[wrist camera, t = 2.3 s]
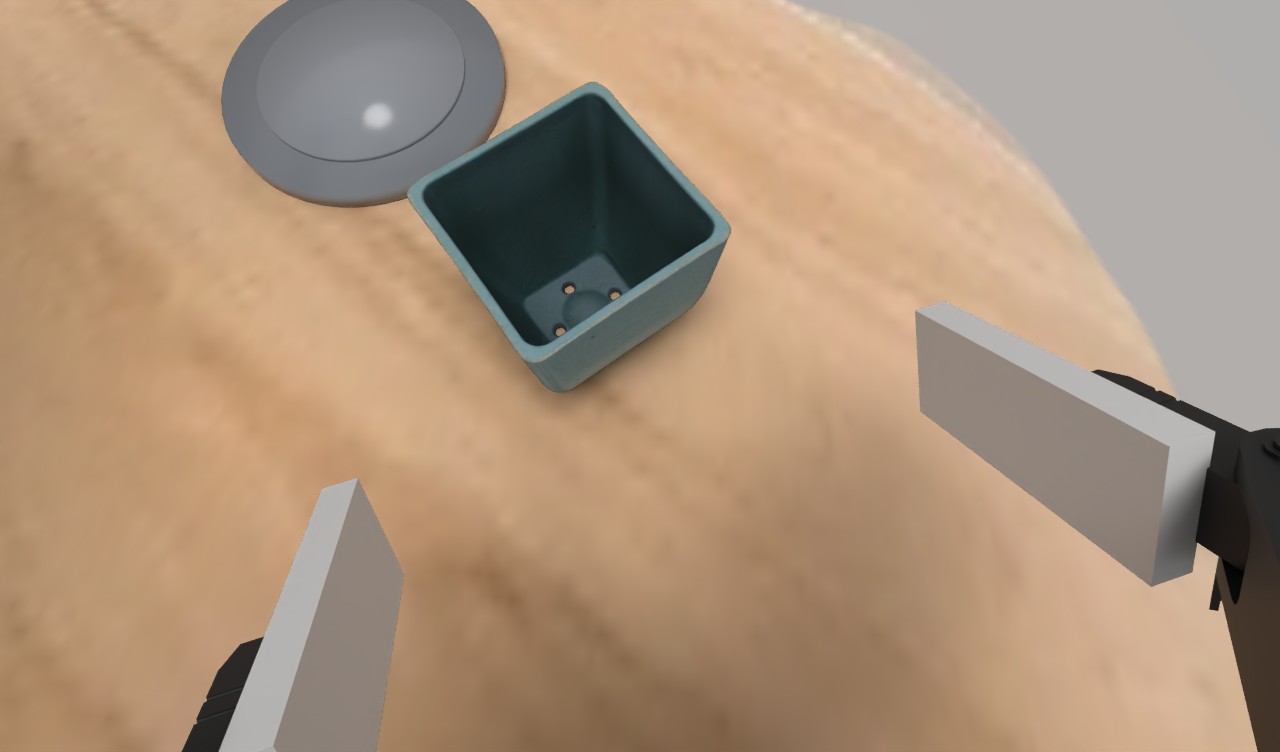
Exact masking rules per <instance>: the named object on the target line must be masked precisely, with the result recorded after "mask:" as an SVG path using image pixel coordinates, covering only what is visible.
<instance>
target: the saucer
mask: <svg viewBox="0 0 1280 752" xmlns="http://www.w3.org/2000/svg"><path fill="white" fill-rule="evenodd" d="M505 89H506V77H505V68H504V64H503V60H502V56H501V52H500V48H499V44H498V41H497V39H496V37H495V34H494V32H493V30H492V28H491V27H490V25H489V24H488V22H487V21H486V19H485V18H484V17H483V16H482V14H481V13H480V12H479V11H478V10H477V9H476V8H475V7H474V6H473V5H471V4H470V3H469V2H468V1H467V0H289V1H287V2H286V3H284V4H282V5H281V6H279V7H278V8H276V9H275V10H274V11H272V12H271V13H270V14H269V15H267V16H266V17H265V18H264V19H262V20H261V21H260V22H259V23H258V24H257V25H256V26H255V27H254V28H253V29H252V30H251V31H250V33H249V34H248V35H247V36H246V38H245V39H244V40H243V42H242V43H241V44H240V46H239V47H238V49H237V51H236V52H235V54H234V56H233V57H232V60H231V62H230V64H229V67H228V69H227V71H226V75H225V79H224V83H223V87H222V98H221V104H222V116H223V120H224V124H225V127H226V130H227V132H228V135H229V137H230V139H231V141H232V143H233V144H234V146H235V147H236V149H237V150H238V152H239V153H240V155H241V156H242V157H243V158H244V159H245V160H246V162H247V163H248V164H249V165H250V166H251V167H252V168H253V169H254V170H255V171H256V172H257V174H258V175H259V176H260V177H261V178H263V179H264V180H265V181H267V182H268V183H269V184H271V185H272V186H273V187H275V188H277V189H279V190H280V191H282V192H284V193H286V194H288V195H290V196H293V197H295V198H298V199H301V200H304V201H307V202H311V203H315V204H320V205H326V206H335V207H365V206H373V205H380V204H385V203H389V202H394V201H398V200H401V199H404V198H407V191H408V189H409V188H410V187H411V186H412V185H413V184H415V183H416V182H417V181H418V180H419V179H420V178H422V177H424V176H426V175H427V174H429V173H431V172H433V171H435V170H437V169H439V168H441V167H443V166H444V165H446V164H448V163H450V162H452V161H453V160H455V159H457V158H458V157H460V156H462V155H464V154H465V153H467V152H469V151H472V150H473V149H475V148H477V147H478V146H480V145H482V144H484V143H485V142H486V141H487V139H488V137H489V136H490V134H491V132H492V131H493V129H494V127H495V126H496V123H497V121H498V118H499V116H500V113H501V111H502V107H503V103H504V99H505Z"/></svg>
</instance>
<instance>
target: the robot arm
mask: <svg viewBox="0 0 1280 752" xmlns="http://www.w3.org/2000/svg"><path fill="white" fill-rule="evenodd" d="M915 317H916V337H917V356H918V375H919V395H920V411H921V412H922V413H923V414H925V415H926V416H927V417H929V418H930V419H931V420H933V421H934V422H935V423H936V424H938V425H939V426H940V427H942V428H943V429H944V430H946V431H947V432H948V433H950V434H951V435H952V436H954V437H955V438H956V439H958V440H959V441H960V442H961V443H963V444H964V445H965V446H967V447H968V448H969V449H971V450H972V451H973V452H975V453H976V454H977V455H979V456H980V457H981V458H983V459H984V460H985V461H986V462H988V463H989V464H990V465H992V466H993V467H994V468H996V469H997V470H998V471H1000V472H1001V473H1002V474H1004V475H1005V476H1006V477H1008V478H1009V479H1010V480H1011V481H1013V482H1014V483H1015V484H1017V485H1018V486H1019V487H1021V488H1022V489H1023V490H1025V491H1026V492H1027V493H1029V494H1030V495H1031V496H1033V497H1034V498H1035V499H1036V500H1038V501H1039V502H1040V503H1042V504H1043V505H1044V506H1046V507H1047V508H1048V509H1050V510H1051V511H1052V512H1054V513H1055V514H1056V515H1057V516H1059V517H1060V518H1061V519H1063V520H1064V521H1065V522H1067V523H1068V524H1069V525H1071V526H1072V527H1073V528H1075V529H1076V530H1077V531H1079V532H1080V533H1081V534H1082V535H1084V536H1085V537H1086V538H1088V539H1089V540H1090V541H1092V542H1093V543H1094V544H1096V545H1097V546H1098V547H1100V548H1101V549H1102V550H1104V551H1105V552H1106V553H1107V554H1109V555H1110V556H1111V557H1113V558H1114V559H1115V560H1117V561H1118V562H1119V563H1121V564H1122V565H1123V566H1125V567H1126V568H1127V569H1129V570H1130V571H1131V572H1132V573H1134V574H1135V575H1136V576H1138V577H1139V578H1140V579H1142V580H1143V581H1144V582H1146V583H1147V584H1148V585H1150V586H1151V587H1152V586H1155V585H1158V584H1160V583H1163V582H1166V581H1169V580H1172V579H1174V578H1177V577H1180V576H1183V575H1186V574H1189V573H1191V572H1192V570H1193V564H1194V558H1195V552H1196V546H1197V543H1199V544H1201V545H1202V546H1204V547H1205V548H1207V549H1208V550H1210V551H1211V552H1213V553H1214V554H1216V555H1217V556H1219V558H1218V563H1217V569H1216V574H1215V579H1214V585H1213V590H1212V596H1211V601H1210V608H1209V609H1210V610H1216V611H1218V609H1219V604H1220V601H1222V603H1223V607H1224V611H1225V615H1226V620H1227V624H1228V628H1229V632H1230V636H1231V641H1232V645H1233V649H1234V653H1235V658H1236V662H1237V666H1238V670H1239V674H1240V679H1241V683H1242V687H1243V691H1244V696H1245V700H1246V704H1247V708H1248V712H1249V717H1250V721H1251V725H1252V729H1253V733H1254V738H1255V742H1256V746H1257V750H1258V752H1280V428H1267V429H1266V428H1265V429H1261V430H1258V431H1253V432H1249V431H1246V430H1244V429H1242V428H1240V427H1238V426H1236V425H1233V424H1231V423H1229V422H1227V421H1225V420H1223V419H1220V418H1218V417H1216V416H1214V415H1212V414H1210V413H1207V412H1205V411H1203V410H1201V409H1199V408H1196V407H1194V406H1192V405H1190V404H1188V403H1186V402H1184V401H1181V400H1180V401H1176V398H1175V397H1173V396H1170V395H1168V394H1166V393H1164V392H1162V391H1156V390H1155V388H1153V387H1151V386H1149V385H1147V384H1144V383H1142V382H1140V381H1138V380H1136V379H1134V378H1131V377H1129V376H1125V375H1120V374H1116V373H1111V372H1107V371H1103V370H1095V371H1092V372H1090V371H1088V370H1086V369H1084V368H1082V367H1080V366H1078V365H1076V364H1074V363H1072V362H1070V361H1068V360H1066V359H1063V358H1061V357H1059V356H1057V355H1055V354H1053V353H1051V352H1049V351H1047V350H1045V349H1043V348H1041V347H1039V346H1036V345H1034V344H1032V343H1030V342H1028V341H1026V340H1024V339H1022V338H1020V337H1018V336H1016V335H1014V334H1012V333H1009V332H1007V331H1005V330H1003V329H1001V328H999V327H997V326H995V325H993V324H991V323H989V322H987V321H985V320H982V319H980V318H978V317H976V316H974V315H972V314H970V313H968V312H966V311H964V310H962V309H960V308H958V307H955V306H953V305H951V304H949V303H947V302H942V303H938V304H935V305H932V306H928V307H925V308H922V309H918V310H915ZM404 575H405V574H404V572H403V570H402V568H401V566H400V564H399V562H398V560H397V557H396V555H395V553H394V551H393V549H392V547H391V545H390V543H389V541H388V539H387V537H386V535H385V533H384V531H383V529H382V527H381V525H380V522H379V520H378V518H377V516H376V514H375V512H374V510H373V508H372V506H371V504H370V502H369V500H368V498H367V496H366V494H365V492H364V489H363V487H362V485H361V483H360V481H359V479H358V478H356V479H353V480H349V481H346V482H343V483H339V484H336V485H333V486H329V487H326V488H323V489H322V491H321V494H320V496H319V499H318V501H317V504H316V506H315V509H314V511H313V514H312V516H311V519H310V521H309V524H308V526H307V529H306V532H305V534H304V537H303V539H302V542H301V544H300V547H299V549H298V552H297V554H296V557H295V559H294V562H293V564H292V567H291V570H290V572H289V575H288V577H287V580H286V582H285V585H284V587H283V590H282V592H281V595H280V597H279V600H278V602H277V605H276V608H275V610H274V613H273V615H272V618H271V620H270V623H269V625H268V628H267V630H266V633H265V635H264V637H262V638H258V639H255V640H252V641H249V642H246V643H243V644H240V645H239V647H238V648H237V649H236V650H235V651H234V653H233V654H232V655H231V656H230V657H229V659H228V660H227V661H226V662H225V663H224V665H223V666H222V667H221V668H220V669H219V671H218V672H217V675H216V677H215V679H214V681H213V684H212V686H211V688H210V690H209V692H208V695H207V697H206V698H207V702H205V703H204V704H203V706H202V708H201V710H200V712H199V715H198V717H197V719H196V720H197V724H195V725H194V726H193V728H192V730H191V732H190V735H189V737H188V739H187V741H186V744H185V746H184V748H183V750H182V752H376V749H377V743H378V737H379V731H380V724H381V718H382V712H383V706H384V699H385V693H386V687H387V681H388V674H389V668H390V662H391V656H392V650H393V643H394V637H395V631H396V625H397V618H398V612H399V606H400V600H401V593H402V587H403V581H404Z"/></svg>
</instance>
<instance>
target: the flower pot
mask: <svg viewBox="0 0 1280 752" xmlns="http://www.w3.org/2000/svg"><path fill="white" fill-rule="evenodd" d="M407 197H408V199H409V201H410V203H411V205H412V206H413V208H414V209H415V210H416V212H417V213H418V214H419V215H420V217H421V218H422V220H423V221H424V222H425V224H426V225H427V226H428V228H429V229H430V230H431V232H432V233H433V234H434V235H435V237H436V238H437V240H438V241H439V243H440V244H441V245H442V246H443V248H444V249H445V251H446V252H447V253H448V255H449V256H450V258H451V259H452V260H453V262H454V263H455V265H456V266H457V267H458V269H459V270H460V271H461V273H462V274H463V276H464V277H465V278H466V280H467V281H468V283H469V284H470V286H471V287H472V288H473V290H474V291H475V292H476V294H477V295H478V297H479V298H480V299H481V301H482V302H483V304H484V305H485V307H486V308H487V310H488V311H489V312H490V314H491V315H492V317H493V318H494V320H495V321H496V322H497V324H498V325H499V327H500V328H501V329H502V331H503V332H504V334H505V335H506V337H507V338H508V340H509V341H510V343H511V344H512V346H513V347H514V349H515V350H516V351H517V353H518V354H519V355H520V357H521V358H522V359H523V360H524V362H525V363H526V364H527V365H528V367H529V368H530V369H531V370H532V371H533V373H534V374H535V375H536V376H537V377H538V379H539V380H540V381H541V382H542V384H543V385H545V386H546V387H547V388H548V389H550V390H552V391H554V392H560V393H562V392H567V391H569V390H571V389H573V388H575V387H577V386H578V385H579V384H581V383H582V382H584V381H585V380H587V379H588V378H589V377H591V376H592V375H594V374H595V373H597V372H598V371H600V370H601V369H603V368H604V367H606V366H607V365H609V364H610V363H612V362H613V361H615V360H616V359H618V358H619V357H620V356H622V355H623V354H625V353H626V352H628V351H629V350H631V349H632V348H634V347H635V346H637V345H638V344H640V343H641V342H643V341H644V340H646V339H647V338H649V337H650V336H652V335H653V334H654V333H656V332H657V331H659V330H660V329H662V328H663V327H665V326H667V325H668V324H670V323H671V322H673V321H674V320H676V319H677V318H679V317H680V316H681V315H683V314H684V313H685V312H687V311H688V310H689V309H690V308H691V307H692V306H693V305H694V304H695V303H696V302H697V301H698V300H699V298H700V297H701V296H702V295H703V293H704V291H705V289H706V287H707V285H708V284H709V281H710V279H711V277H712V275H713V272H714V270H715V268H716V266H717V263H718V261H719V259H720V257H721V254H722V252H723V250H724V247H725V245H726V242H727V240H728V238H729V236H730V233H731V227H730V225H729V223H728V222H727V221H726V219H725V218H724V217H723V216H722V215H721V213H720V212H719V211H718V210H717V209H716V208H715V207H714V206H713V205H712V204H711V203H710V201H709V200H708V199H707V198H706V197H705V196H704V195H703V194H702V193H701V192H700V191H699V190H698V188H696V187H695V185H694V184H692V183H691V182H690V181H689V179H688V178H687V177H686V176H685V175H684V174H683V173H682V172H681V171H680V170H679V169H678V168H677V166H676V165H675V164H674V163H673V162H672V161H671V160H670V159H669V158H668V157H667V156H666V154H665V153H664V152H663V151H662V150H661V149H660V148H659V147H658V146H657V145H656V143H655V142H654V141H653V140H652V139H651V138H650V137H649V136H648V135H647V133H646V132H645V131H644V130H643V129H642V128H641V127H640V126H639V125H638V124H637V123H636V121H635V120H634V119H633V118H632V117H631V116H630V115H629V114H628V112H627V111H626V110H625V109H624V108H623V106H622V105H621V104H620V103H619V102H618V100H617V99H615V97H614V95H613V94H612V93H611V92H610V91H609V90H608V89H607V88H605V87H604V86H602V85H601V84H599V83H597V82H589V83H587V84H584V85H583V86H581V87H579V88H577V89H575V90H573V91H571V92H570V93H568V94H567V95H565V96H563V97H561V98H560V99H558V100H557V101H554V102H553V103H551V104H550V105H548V106H546V107H545V108H543V109H541V110H540V111H538V112H537V113H534V114H533V115H532V116H529V117H528V118H526V119H525V120H523V121H521V122H520V123H518V124H516V125H514V126H513V127H511V128H510V129H507V130H505V131H504V132H502V133H500V134H499V135H497V136H496V137H494V138H493V139H491V140H489V141H487V142H485V143H484V144H482V145H480V146H478V147H477V148H475V149H473V150H472V151H469V152H467V153H465V154H464V155H462V156H460V157H458V158H457V159H455V160H453V161H452V162H450V163H448V164H446V165H444V166H443V167H441V168H439V169H437V170H435V171H433V172H431V173H429V174H427V175H426V176H424V177H422V178H420V179H419V180H418V181H417V182H416V183H415V184H413V185H412V186H411V187H410V188H409V189H408V191H407ZM568 285H572V286H574V288H575V290H574V292H573V293H570V294H567V293H565V291H564V289H565V287H566V286H568ZM614 291H618V292H619V293H620V295H621V296H620V297H618V298H616V299H615V300H612V299H611V298H610V294H611V293H612V292H614ZM558 327H563V328H565V330H566V333H564V334H563V335H561V336H557V335H556V334H555V331H556V329H557V328H558Z"/></svg>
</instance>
